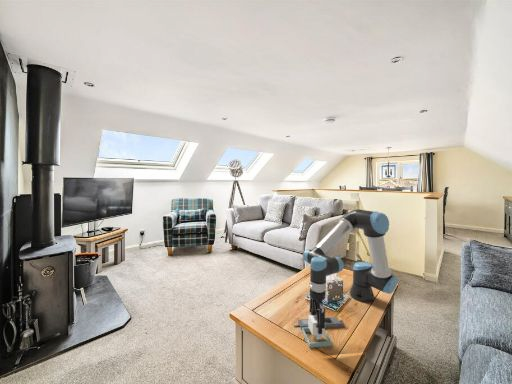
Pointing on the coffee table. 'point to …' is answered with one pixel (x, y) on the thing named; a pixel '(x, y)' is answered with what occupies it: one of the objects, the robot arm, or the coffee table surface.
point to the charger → (313, 324)
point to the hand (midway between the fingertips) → (316, 333)
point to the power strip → (328, 322)
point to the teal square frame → (316, 344)
